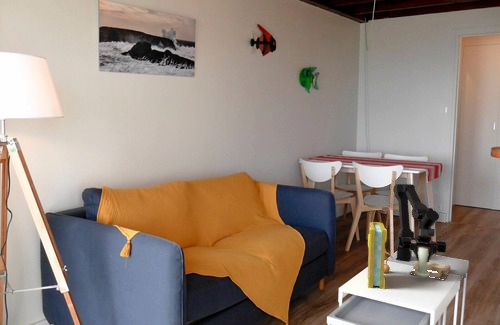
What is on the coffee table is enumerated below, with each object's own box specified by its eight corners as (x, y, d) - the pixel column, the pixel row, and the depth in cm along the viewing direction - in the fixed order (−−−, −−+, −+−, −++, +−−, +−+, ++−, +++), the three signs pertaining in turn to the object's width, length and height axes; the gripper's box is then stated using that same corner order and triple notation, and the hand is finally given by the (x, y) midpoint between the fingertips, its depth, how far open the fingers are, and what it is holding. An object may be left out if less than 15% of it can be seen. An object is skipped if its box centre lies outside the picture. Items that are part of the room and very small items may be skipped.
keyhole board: (409, 274, 217) (410, 269, 217) (417, 265, 232) (418, 260, 232) (444, 280, 209) (444, 275, 209) (450, 270, 224) (450, 265, 224)
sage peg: (413, 275, 208) (414, 248, 207) (416, 271, 213) (417, 245, 212) (427, 277, 204) (429, 251, 203) (430, 274, 210) (431, 248, 208)
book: (384, 289, 197) (386, 230, 195) (368, 287, 198) (370, 229, 196) (381, 276, 213) (383, 222, 211) (366, 275, 215) (368, 221, 213)
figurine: (395, 273, 218) (396, 248, 217) (390, 276, 213) (391, 250, 213) (378, 269, 223) (379, 245, 222) (373, 272, 219) (374, 247, 218)
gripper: (403, 219, 214) (400, 249, 204) (447, 223, 207) (446, 254, 198) (403, 233, 222) (400, 262, 212) (445, 237, 215) (445, 267, 206)
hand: (422, 261), depth 207 cm, fingers closed on sage peg, 4 cm apart
